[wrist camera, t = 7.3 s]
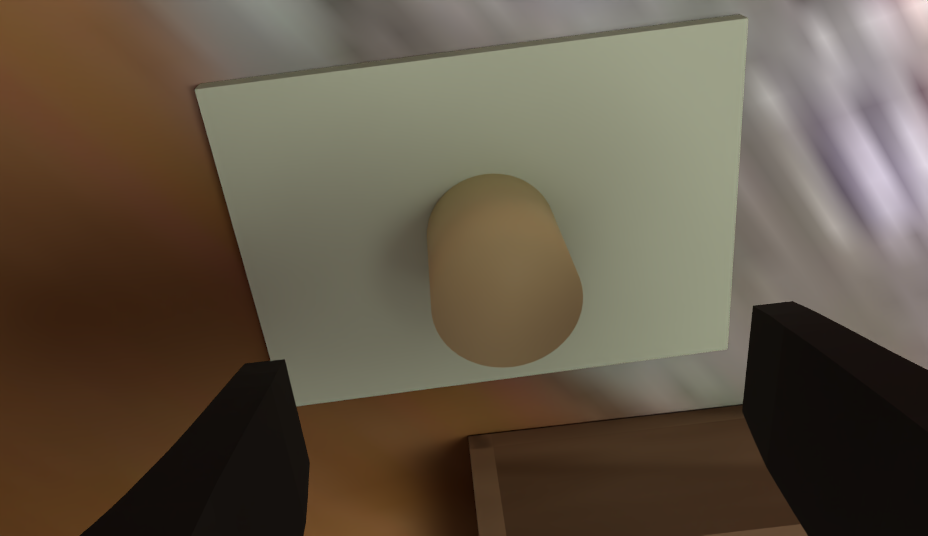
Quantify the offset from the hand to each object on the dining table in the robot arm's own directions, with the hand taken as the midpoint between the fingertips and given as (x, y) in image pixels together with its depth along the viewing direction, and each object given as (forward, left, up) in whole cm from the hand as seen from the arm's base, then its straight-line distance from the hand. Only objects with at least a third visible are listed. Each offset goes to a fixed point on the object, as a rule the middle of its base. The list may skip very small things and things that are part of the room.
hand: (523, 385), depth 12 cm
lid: (0, 0, -7) cm, 7 cm away
